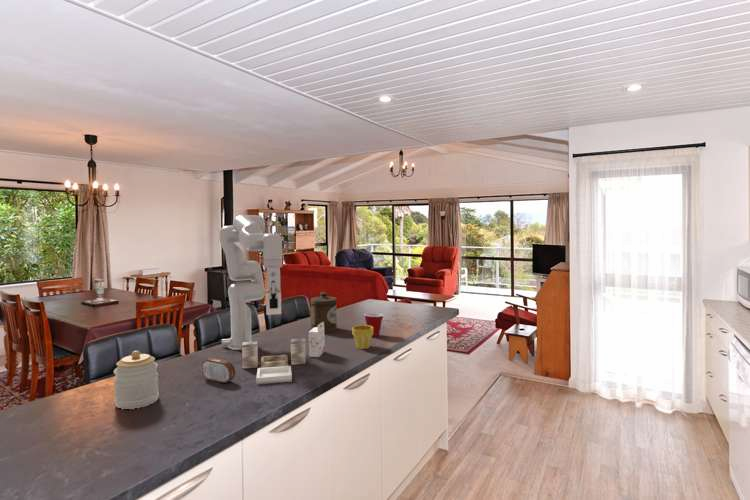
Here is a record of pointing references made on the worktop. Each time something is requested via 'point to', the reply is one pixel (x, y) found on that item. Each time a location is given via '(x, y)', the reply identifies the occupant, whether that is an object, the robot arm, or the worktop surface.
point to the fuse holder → (272, 361)
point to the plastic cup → (374, 322)
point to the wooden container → (323, 312)
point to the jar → (136, 381)
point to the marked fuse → (268, 310)
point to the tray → (274, 375)
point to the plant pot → (362, 336)
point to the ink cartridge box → (316, 341)
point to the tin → (218, 370)
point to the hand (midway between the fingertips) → (273, 306)
